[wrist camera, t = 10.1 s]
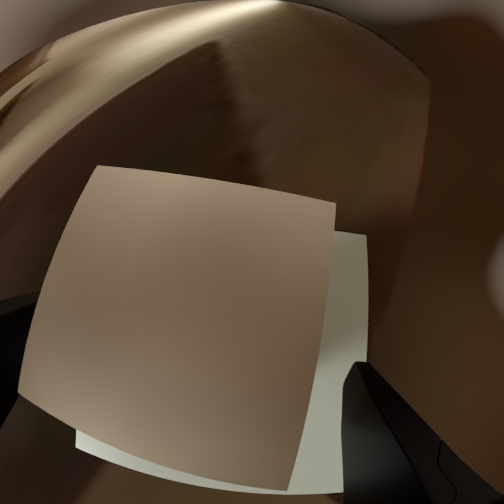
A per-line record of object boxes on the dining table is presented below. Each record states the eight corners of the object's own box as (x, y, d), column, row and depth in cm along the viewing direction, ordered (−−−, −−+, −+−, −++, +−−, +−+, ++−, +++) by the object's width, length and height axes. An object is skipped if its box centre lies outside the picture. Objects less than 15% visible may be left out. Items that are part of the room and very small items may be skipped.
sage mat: (344, 488, 13) (347, 491, 12) (80, 445, 13) (75, 447, 13) (363, 239, 20) (366, 235, 20) (125, 211, 21) (123, 207, 20)
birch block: (254, 402, 15) (286, 491, 3) (172, 382, 15) (17, 392, 3) (271, 322, 17) (336, 203, 5) (191, 305, 17) (97, 165, 5)
